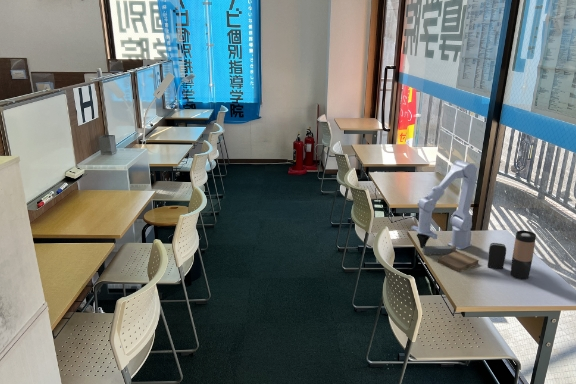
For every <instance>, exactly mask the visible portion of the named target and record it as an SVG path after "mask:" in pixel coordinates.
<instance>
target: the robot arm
mask: <svg viewBox="0 0 576 384" xmlns="http://www.w3.org/2000/svg"><path fill="white" fill-rule="evenodd" d="M477 171H478V168H477V166H476V165H475V164H473V163H470V162H467V161H464V160H462V159H457V160H455V161H454V162H453V164H451V166H450V170H449V171H448V172H447V174H446V175H445V177H444V178H443V179H442V180H441V181H440V183H439V184H438V185H434V186H433V187H432V188H431V189H430V190H429V192H428V193H427V194H426V195H425V196H424V197H422V198H420V199H419V200H418V202H417V206H418V208H419V209H418V211H419V215H418V225H412V226H410V227H411V228H410V230H411V231H414V232H417V234H416V238H417V239H418V242H419V246H420V249H423V246H427V242H428V241H429V239H430V238H432V239H433V240H437V239H438V234H437V233H435V232H433V231H432V230H431V227H432V215H433V211H434V209H435V208H436V205H437V202H438V201H440V199H441V198H442V197H443V196H444V195H445V190H447V188H448V187H449V186H450V185H451V184H452V183H453V182H454V181H455V180H456V179H463V183H462V187H461V191H460V197H459V201H458V205H457V209H456V210H455V211H453V214H452V216H451V217H450V220H449V222H450V225H452V226H451V228H452V231H451V232H452V233H451V240H450V241H451V242H448V243H446V244H447V245H446V246H450V247H451V245H455V246H456V250H459V251H461V250H464V249H467V248H468V247H469V248H470V247H471V246H472V244H471V241H472V231H471V229H472V228H473V227H472V226H473V222H472V220H473V217H472V215H471V213H470V210H471V205H472V200H473V196H474V193H475V188H476V184H477V179H478V175H477Z"/></svg>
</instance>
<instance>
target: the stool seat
mask: <svg viewBox="0 0 576 384" xmlns="http://www.w3.org/2000/svg"><path fill="white" fill-rule="evenodd" d="M450 247H451V253H450V254H444V255H443V256H441V257H438V258H437V260H436V261H437V263H438V264H439V265H441V266H444V267H446V268H449V269H451V270H453V271H456V272H457V273H461V272H463V271H466V270H468V269H470V268H473V267H475V266H477V265H478V264H479V259H477V258H474V257H471V256H470V255H467V254H465V253H463V252H460V251H458V250H457V248H456V246H455V245H451V246H450ZM437 263H436V264H437Z"/></svg>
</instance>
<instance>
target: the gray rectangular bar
mask: <svg viewBox="0 0 576 384" xmlns="http://www.w3.org/2000/svg"><path fill="white" fill-rule="evenodd" d="M422 253H423V255H448V254H450V253H451V246H450V245H425V246H423V248H422Z"/></svg>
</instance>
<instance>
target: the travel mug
mask: <svg viewBox="0 0 576 384" xmlns="http://www.w3.org/2000/svg"><path fill="white" fill-rule="evenodd" d="M536 238H537V235H536V233H535V232H532V231H529V230H523V229H522V230H517V231H516V234H515V239H514V244H513V245H514V246H513V252H512V258H511V267H510V275H511V277H512V278H514V279H517V280H527V279H529V277H530V273H531V268H532V263H533V259H534V258H533V257H534V251H535V246H536V245H535V244H536Z"/></svg>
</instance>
